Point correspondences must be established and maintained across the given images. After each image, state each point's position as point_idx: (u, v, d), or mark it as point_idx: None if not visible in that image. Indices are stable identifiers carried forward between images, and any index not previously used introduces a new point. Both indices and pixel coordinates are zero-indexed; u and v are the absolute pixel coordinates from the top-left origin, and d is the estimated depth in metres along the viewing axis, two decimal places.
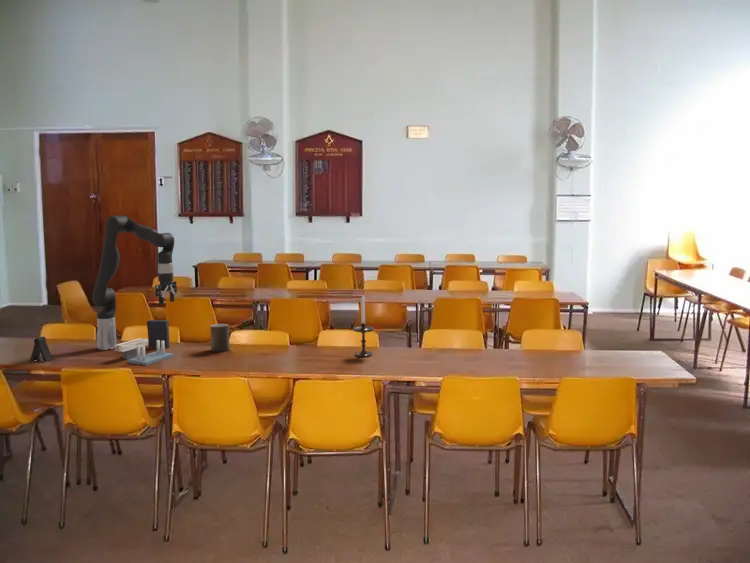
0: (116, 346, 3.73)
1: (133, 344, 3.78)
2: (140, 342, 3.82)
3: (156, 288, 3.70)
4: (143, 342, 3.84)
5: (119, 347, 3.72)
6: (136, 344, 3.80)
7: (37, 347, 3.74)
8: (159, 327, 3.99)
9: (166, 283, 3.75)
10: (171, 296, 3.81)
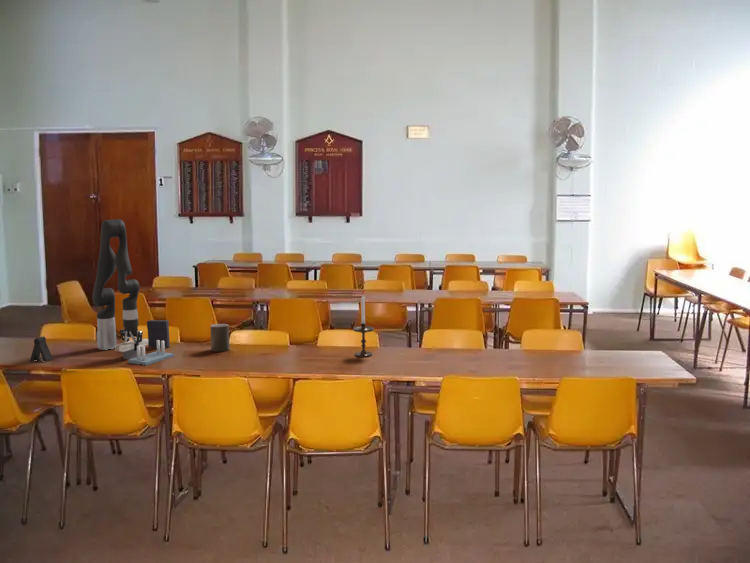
0: (116, 346, 3.73)
1: (133, 344, 3.78)
2: (140, 342, 3.82)
3: (139, 335, 3.76)
4: (143, 342, 3.84)
5: (119, 347, 3.72)
6: None
7: (37, 347, 3.74)
8: (159, 327, 3.99)
9: None
10: None
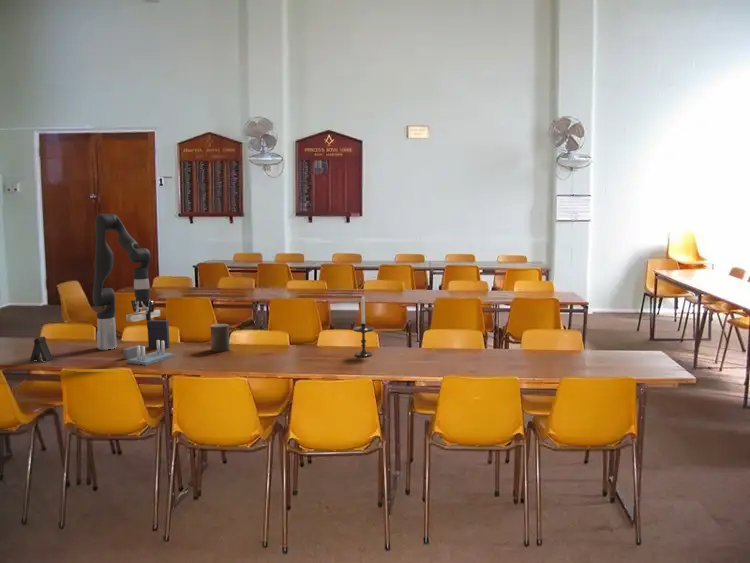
0: (127, 316, 3.66)
1: (145, 314, 3.71)
2: (152, 313, 3.75)
3: (151, 305, 3.69)
4: (155, 313, 3.77)
5: (131, 317, 3.65)
6: None
7: (37, 347, 3.74)
8: (159, 327, 3.99)
9: None
10: None
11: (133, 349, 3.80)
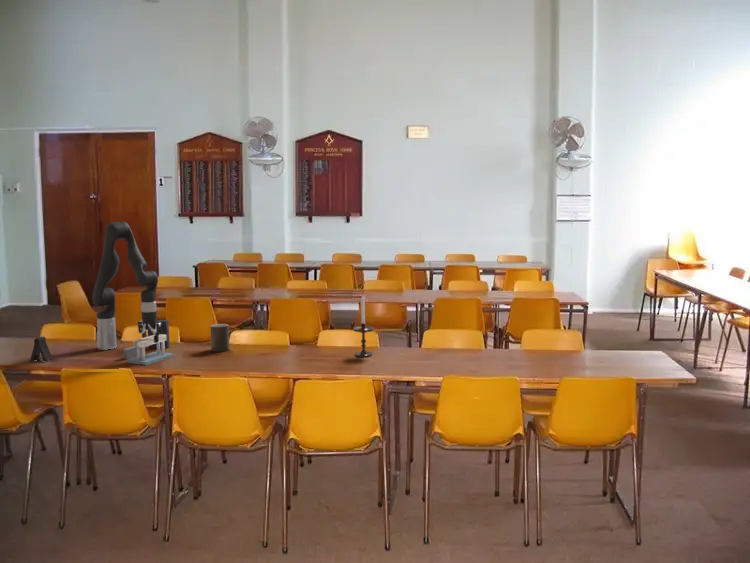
0: (134, 342, 3.67)
1: (151, 340, 3.72)
2: None
3: (159, 327, 3.70)
4: (161, 338, 3.78)
5: (138, 343, 3.66)
6: None
7: (37, 347, 3.74)
8: None
9: None
10: (145, 336, 3.75)
11: (133, 349, 3.80)
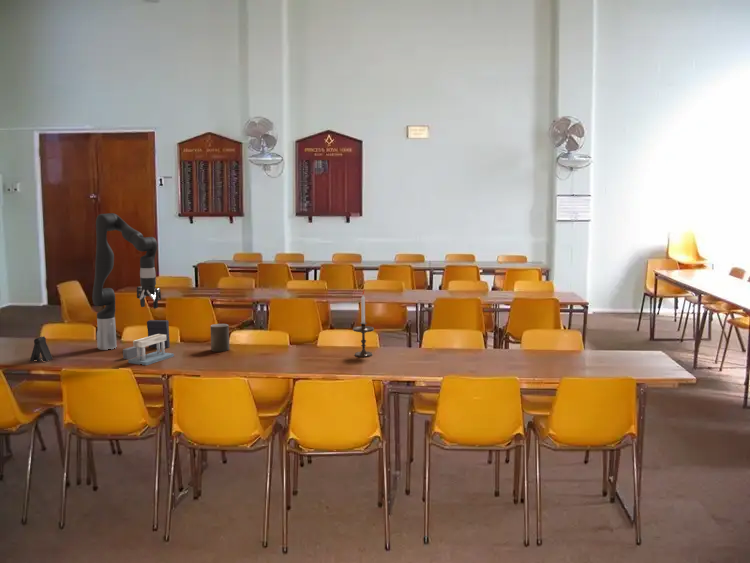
0: (134, 342, 3.67)
1: (151, 340, 3.72)
2: (158, 338, 3.76)
3: (157, 292, 3.70)
4: (161, 338, 3.78)
5: (138, 343, 3.66)
6: (154, 340, 3.73)
7: (37, 347, 3.74)
8: (159, 327, 3.99)
9: None
10: (143, 301, 3.76)
11: (133, 349, 3.80)
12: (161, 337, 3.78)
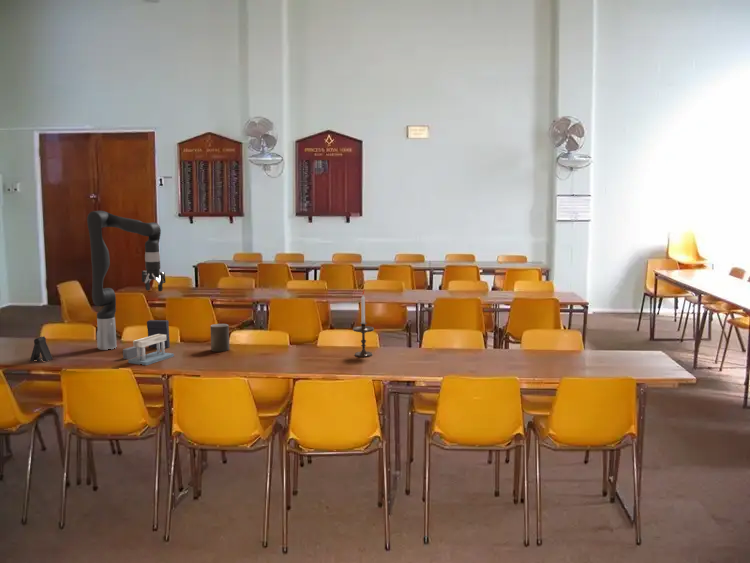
0: (134, 342, 3.67)
1: (151, 340, 3.72)
2: (158, 338, 3.76)
3: (162, 275, 3.84)
4: (161, 338, 3.78)
5: (138, 343, 3.66)
6: (154, 340, 3.73)
7: (37, 347, 3.74)
8: (159, 327, 3.99)
9: None
10: (148, 285, 3.90)
11: (133, 349, 3.80)
12: (161, 337, 3.78)
